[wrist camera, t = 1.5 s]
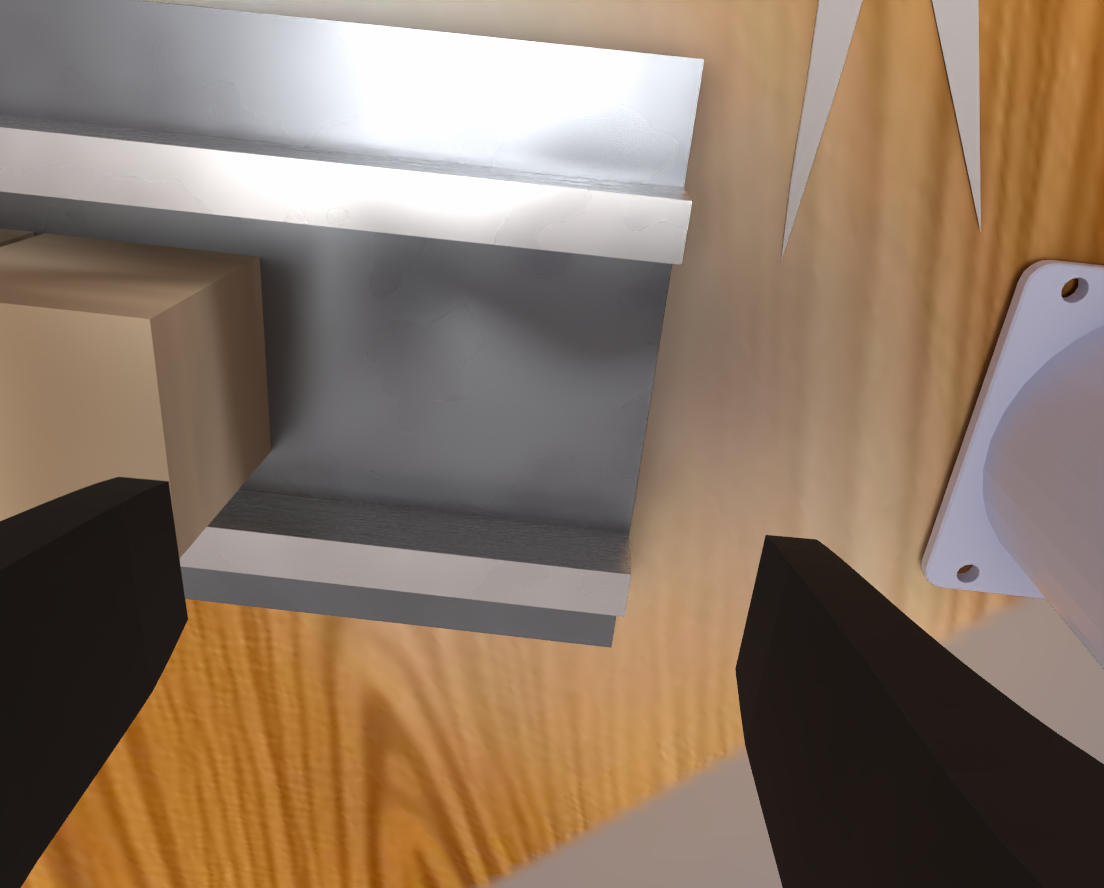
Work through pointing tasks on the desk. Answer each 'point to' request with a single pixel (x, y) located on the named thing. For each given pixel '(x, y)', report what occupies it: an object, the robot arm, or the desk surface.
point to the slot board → (389, 285)
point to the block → (130, 372)
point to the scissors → (826, 63)
